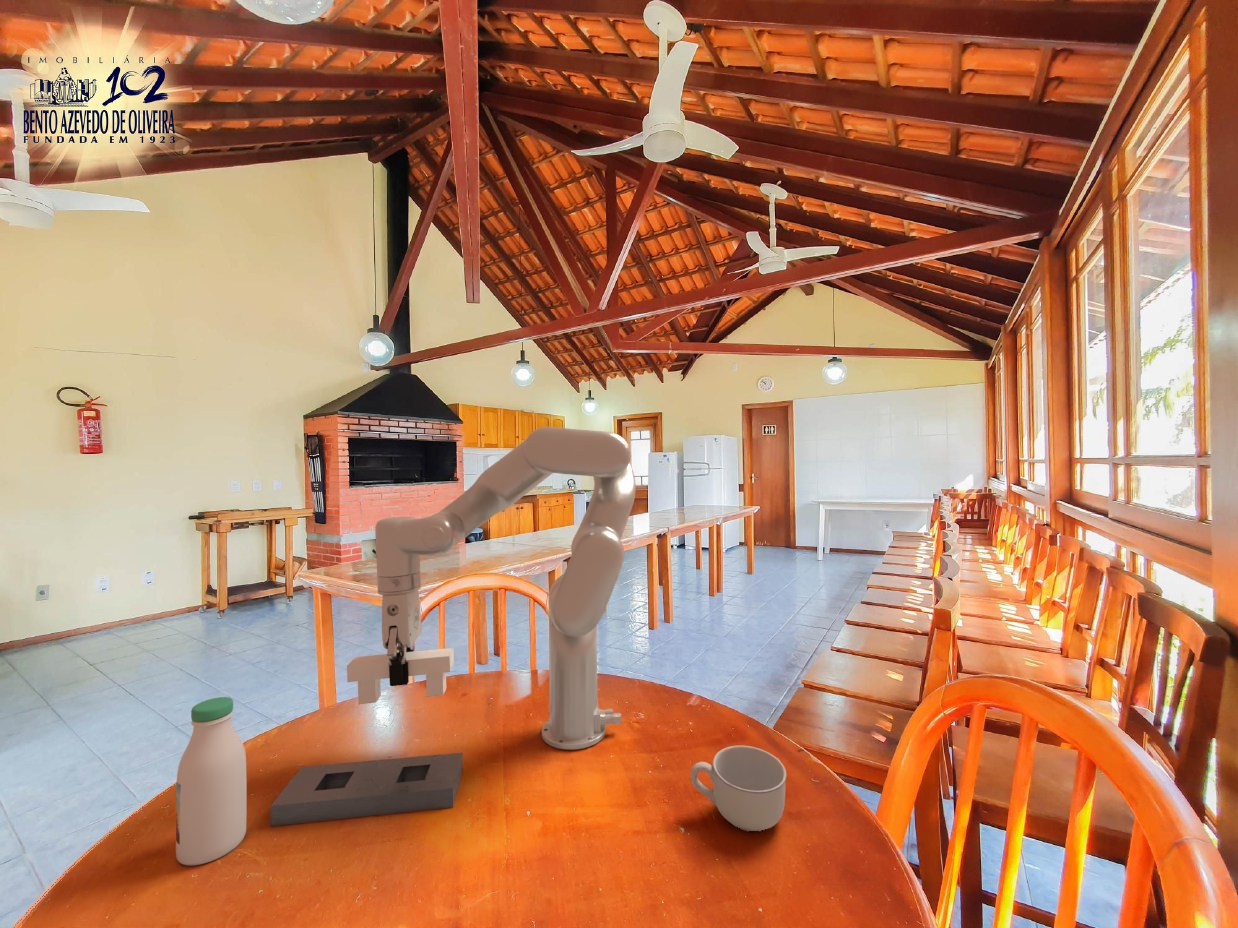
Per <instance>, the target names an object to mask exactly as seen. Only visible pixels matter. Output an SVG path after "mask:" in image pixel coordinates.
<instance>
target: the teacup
mask: <svg viewBox="0 0 1238 928" xmlns="http://www.w3.org/2000/svg"><path fill="white" fill-rule="evenodd" d="M700 772H706V773H707V774H708V776H709V777H710V780H711V782H712V784H713V785H712V786H713V787H712V788H713V789H711V788H709V787H707V786H706V785H704V784H703V783H702V782H701V781H700V780H699V778H698V773H700ZM690 779H691V782H692V783H691V784H692V786H693V787H694V788H695V789H696V790H697V791H698V792H700V794H702V795H704V796H706V797H707V798H708V799H709V801H710V803H712V804H714V805H715V806H716V807H717V810H718V811H719V813H720V814H721V816H723V818H724V819H726V820H727V821H728V822H729V823H730V824H732V825H733V826H734V827H735V828H737V827H738V828H737V829H739V828H740V829H739V830H742V831H745V830H746V831H745V832H749V831H759V832H762V831H761V830H763V831H765V829H766V830H767V829H771V828H772V827H774V826H775V825H777V823H779V822H780V820H781V818H782V816H783V813H784V809H785V802H786V780H787V770H786V768H785V765H784V764H783V763H782V762H781V760H780V759H779V758H778V757H776V756H775V755H773V754H772V753H771V752H768V751H766V750H764V749H762V748H758V747H754V746H750V745H731V746H727V747H725V748H722V749H720V750H718V752H717V753H716V754H715V756H714V757H713V759H712V765H711V764H710V763H708V762H705V761H699V762H696V763H695V764H694V765H693V766H692V767H691V771H690Z"/></svg>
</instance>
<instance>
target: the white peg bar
mask: <svg viewBox="0 0 1238 928" xmlns="http://www.w3.org/2000/svg"><path fill="white" fill-rule="evenodd" d="M454 652H455V651H454V647H448V648H440V649H439V648H438V649H427V650H418V651H415V650H414V652H406V662H408V675H409V677H413V676H424V675H425V681H426V682H425V684H426V685H425V687H426V689H425V690H426V697H427V698H430V697H441V696H444V694H445V692H446V691H447V673H450V672H452V669H453V666H454V664H455V661H454V660H455V659H454V658H455V657H454V656H455V655H454V654H455V653H454ZM400 654H401V656H402V653H400ZM346 677H347V679H346V680H347V683H353V682H357V697H358V699H357V700H358V702H357V703H358V705H363V704H364V705H365V704H372V703H374V704H375V703H377V702H378V700H379V699H380V697H381V695H382V692H381V691H382V690H381V689H382V688H381V687H382V686H381V680H384V679H385V680H386V679H389V657H388V656H387V653H384V654H374V655H363V656H355V657H354V658H353V659H351V661H350V662H349V663H348V664H347V665H346Z"/></svg>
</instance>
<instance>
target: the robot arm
mask: <svg viewBox="0 0 1238 928" xmlns="http://www.w3.org/2000/svg"><path fill="white" fill-rule="evenodd" d="M631 457H632V453H631V448H630V446H629V443H628V442H627V440H626V439H624V437H623V436H621V435H620V434H617V433H614V432H612V431H602V430H592V429H591V430H588V429H579V428H578V429H577V428H565V427H558V426H557V427H556V426H541V427H538V428H536V429H534V430H533V431H532V432H530V434H529V435H528V436H527V438H526V439H525V440H524V441H522V442H521V443H519V444H518V445H517V446H516V447H514V448H513V449H512V450H510V451H509V452H508V453H507V454H506V455H503V457H501V458H500V459H499V460H497V461H496V462H494V463H493V464H492V465H490V466H489V467H488V468H486V469H485V470H484V471H483V472H482V473H481V474H480V475H479V476H478V478H477V479H476V480H475V482H474V483H473V484H472V485H471V486H470V487H469V488H468V489H467V490H466V491H464V492H463V493H462V494H461V495H459V496H458V497H457V498H455V500H453V501H452V502H450V503H449V504H448V505H446V506H445V507H444V508H443V509H441V510H439V511H438V512H437V513H434V514H432V515H431V516H426V517H421V518H415V517H412V516H395V517H393V516H392V517H387V518H382V519H379V520H378V521H377V522H376V524H375V529H374V530H375V532H374V533H375V557H376V578H377V579H376V580H377V595H380V596H381V597H382V598H381V599H382V600H381V639H382V647H383V648H384V649H386V651H387V652H386V654H387V656H388V657H389V678H388V679H389V686H391V687H396V686H397V687H398V686H407V685H408V684H409V682H410V679H409V678H410V676H409V675H408V662H406V652H415V649H416V648H415V642H416V641H417V640H418V638H419V637H420V636H421V634H422V630H423V628H422V627H423V625H422V616H421V615H422V613H421V612H422V611H421V604H420V603H421V602H420V601H421V600H420V595H419V593H420V592H419V590H421V588H422V586H421V585H422V583H421V559H420V557H421V556H425V557H426V556H428V557H440V556H442V555H445V554H448V553H449V552H450V551H452V549H454V548H455V547H456V546H457V545H458V544H459V543H461V541H463V540H465V538H467V537H468V536H469V535H471V534H472V533H473V532H474V531H475V530H477V529H478V528H479V527H480V526H482V525H483V524H485V523H486V522H488V520H490V519H491V518H492V517H494V516H495V515H498V514H499V513H502V512H503V511H506V510H507V509H508V508H510V507H511V506H513V505H514V504H515V503H517V502H518V501H519V500H521V498H523V497H524V496H526V495H527V494H528V493H529V492H531V491H532V490H533V489H534V488H536V487H537V486H539V484H541V483H542V482H543V481H545V480H546V479H547V478H549V477H550V476H551V475H552V474H562V475H570V476H583V477H593V480H594V481H593V482H594V486H593V492H592V495H591V498H590V500H589V502H588V506H587V509H586V511H585V512H584V515H583V517H582V520H581V522H580V524H579V527H578V529H577V531H576V532H575V534H574V537H573V539H572V541H571V545H570V546H571V547H570V549H571V550H570V551H571V555H570V559H569V561H568V563H567V565H566V568H565V570H564V573H563V574H561V575H559V576H557V577H558V578H556V579H555V580H554V582H553V583H552V584H551V586H550V589H549V592H548V628H549V640H548V641H549V642H548V643H549V644H548V645H549V650H548V651H549V652H548V653H549V656H548V657H549V659H548V660H549V662H548V663H549V664H548V666H549V667H548V668H549V669H548V670H549V673H548V674H549V681H548V682H549V683H548V684H549V692H548V693H549V719H548V720H547V721H545V723H544V724H543V726H542V728H541V738H542V739H543V742H545V743H546V744H548V745H549V746H550V747H552V748H556V749H560V750H568V751H570V750H571V751H572V750H581V749H585V748H589V747H591V746H595V745H596V744H598V743H599V742H600V741H602V739H603V738H604V737H605V735H606V725H610V724H612V725H616V724H617V725H618V724H622V714H621V712H614V709H613V708H607V709H602V708H600V706H599V703H598V624H599V623H600V621H601V619H602V618H603V615H604V613H605V611H606V608H607V606H608V603H609V602H610V599H611V596H612V594H613V591H614V589H615V587H616V584H617V582H618V579H619V577H620V575H621V571H622V569H623V565H624V561H625V560H624V559H625V548H624V545H623V543H622V540H621V539H622V537H623V534H624V530H625V528H626V526H627V523H628V521H629V517H630V514H631V512H632V508H633V505H634V503H635V502H634V501H635V497H636V493H637V491H636V489H637V488H636V479H635V474H634V470H633V467H632V465H631V463H630V461H631ZM400 653H402V656H401V654H400Z"/></svg>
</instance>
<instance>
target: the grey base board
mask: <svg viewBox="0 0 1238 928" xmlns="http://www.w3.org/2000/svg"><path fill="white" fill-rule="evenodd" d="M463 759H464V752H454V753H443V754H431V755H430V754H429V755H420V756H419V755H417V756H408V757H397V758H384V759H377V760H376V759H375V760H363V761H354V762H353V761H352V762H342V763H330V764H329V763H328V764H319V765H318V764H317V765H308V766H307V765H306V766H301V767H300V768H299V769H298V771H297V772H296V774H294V776H293V777H292V778H291V780H290V781H289V782H288V783H287V785H286V786H285V787H284V789H282V791H281V792H280V793H279V795H278V796H277V797H276V799H275V800H274V801H273V803H272V804H271V805H270V816H269V817H270V819H269V820H270V826H269V827H278V826H286V825H287V826H289V825H298V824H307V823H315V822H316V823H317V822H318V823H319V822H325V821H336V820H337V821H338V820H345V819H353V818H354V819H355V818H364V817H365V818H366V817H374V816H383V815H395V814H402V813H410V812H421V811H423V812H424V811H431V810H440V809H441V810H442V809H451V808H454V806H455V801H456V797H457V793H458V790H459V786H460V782H461V778H462V775H463V770H464V766H463V765H464V760H463Z"/></svg>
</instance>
